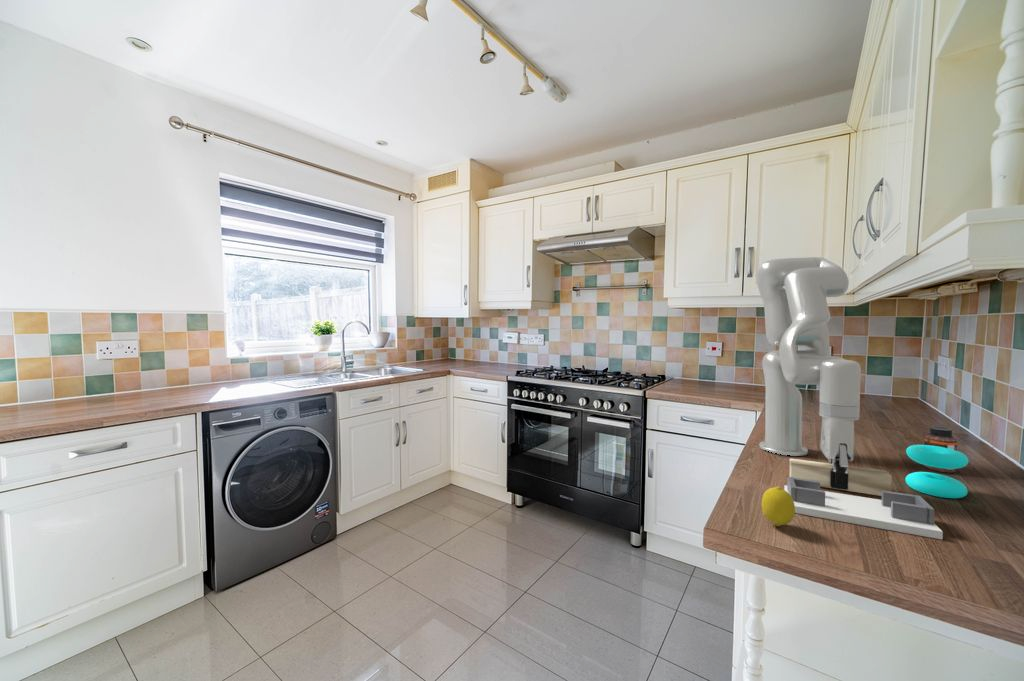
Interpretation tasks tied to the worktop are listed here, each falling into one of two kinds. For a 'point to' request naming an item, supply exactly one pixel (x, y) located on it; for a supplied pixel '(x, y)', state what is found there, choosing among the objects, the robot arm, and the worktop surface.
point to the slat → (857, 476)
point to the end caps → (899, 502)
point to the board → (864, 514)
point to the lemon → (778, 506)
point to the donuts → (933, 481)
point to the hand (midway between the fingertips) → (836, 484)
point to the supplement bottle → (941, 443)
